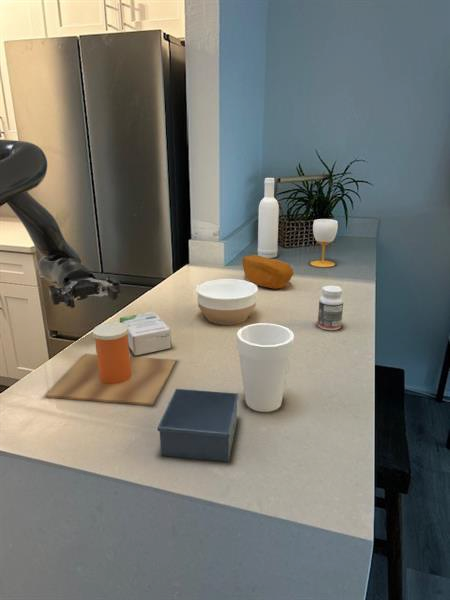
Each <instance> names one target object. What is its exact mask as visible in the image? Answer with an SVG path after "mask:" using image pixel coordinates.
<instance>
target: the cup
mask: <svg viewBox="0 0 450 600" xmlns="http://www.w3.org/2000/svg"><path fill="white" fill-rule="evenodd" d="M338 229H339V225H338V220H336V219H330V218H318V219H314V220H313V224H312V233H313V237H314V240H315V241H316V242H317V243H318V244H319V245H321V246H322V250H321V260H320V259H319V260H318V259H317V260H313V261H312V260H311V262H310V263H309V264H310V265H311V266H313V267H316V268H333V267H335V266H336V263H335V262H333V261H330V260H325V252H326V246H328V245H330V244H332V242H334V240H335V238H336V236H337V233H338Z"/></svg>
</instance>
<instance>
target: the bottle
mask: <svg viewBox="0 0 450 600" xmlns="http://www.w3.org/2000/svg"><path fill="white" fill-rule="evenodd" d="M263 183H264V195H263V196H264V197H263V198H262V199H261V200H260V202H259V205H258V219H257V220H258V221H257V222H258V225H257V255H259V256H262V257H266V258H271V259H274V258H276V257H278V243H279V242H278V239H279V217H280V216H279V214H280V206H279V202H278V200H277V199H276V197H275V178H274V177H265V178H264V182H263Z"/></svg>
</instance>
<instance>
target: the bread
mask: <svg viewBox="0 0 450 600" xmlns="http://www.w3.org/2000/svg"><path fill="white" fill-rule="evenodd" d="M241 259H242V261H241V262H242V269H243V273H244V275H245V278H246V279H247V281H248V282H251V283H253V284H255V285H256V286H259V287H263V288H269V289H273V290H274V289H275V290H276V289H282V288H284V287H285V286H286V285H287V284H288V283H289V282H290V281H291V280H292V277H293V275H294V269H293V268H292V266H291V265H289V264H288V263H287V262H285V261H282V260H279V259H274V258H266V257H262V256H259V255H258V254H251V255H246V256H243V257H242V258H241Z"/></svg>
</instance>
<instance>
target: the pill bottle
mask: <svg viewBox="0 0 450 600" xmlns="http://www.w3.org/2000/svg"><path fill="white" fill-rule="evenodd" d="M321 294H322V295H321V296H320V297H319V301H318V313H317V326H318V327H319V328H320V329H322V330H326V331H338V330H339V329H340V328H342V324H343V323H342V320H343V311H344V298H343V297H342V294H343V288H342V287H341V286H337V285H329V284H328V285H324V286H322V289H321Z"/></svg>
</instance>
